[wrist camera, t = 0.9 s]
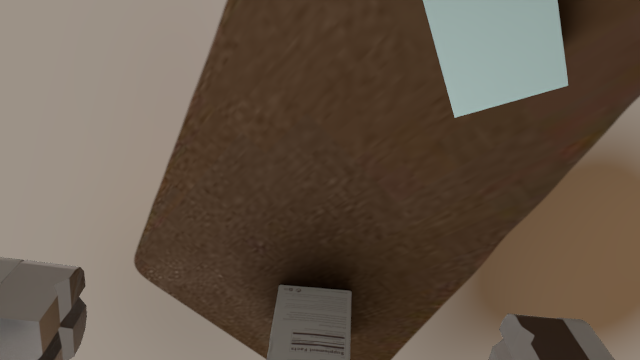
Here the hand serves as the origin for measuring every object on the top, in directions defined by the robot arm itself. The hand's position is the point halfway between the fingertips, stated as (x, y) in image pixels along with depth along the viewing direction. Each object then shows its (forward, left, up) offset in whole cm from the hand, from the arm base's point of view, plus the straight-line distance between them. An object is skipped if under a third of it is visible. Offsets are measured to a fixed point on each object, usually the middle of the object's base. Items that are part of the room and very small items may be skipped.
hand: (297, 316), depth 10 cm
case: (-8, +10, -37) cm, 40 cm away
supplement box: (+19, +41, -38) cm, 59 cm away
